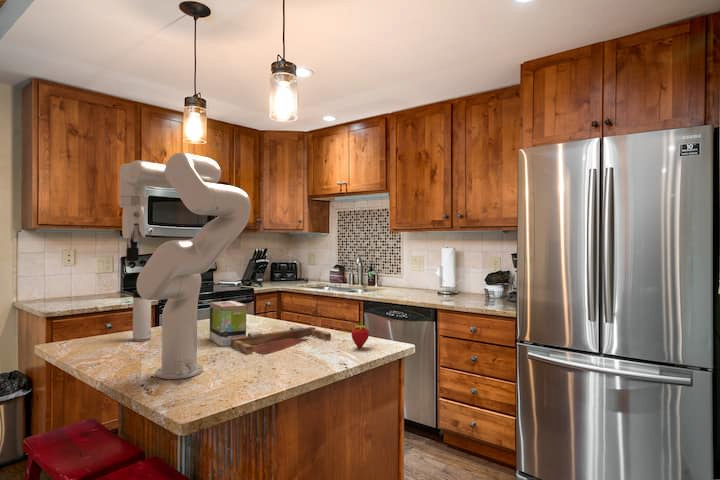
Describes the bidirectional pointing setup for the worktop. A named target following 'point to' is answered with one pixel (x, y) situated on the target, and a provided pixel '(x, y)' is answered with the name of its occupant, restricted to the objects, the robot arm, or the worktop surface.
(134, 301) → the travel mug
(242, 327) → the tea box
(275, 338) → the hinge frame
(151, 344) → the worktop surface
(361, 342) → the strawberry
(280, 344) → the wooden tablet
